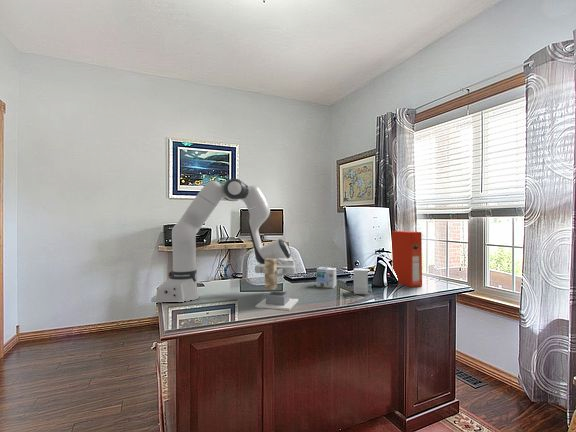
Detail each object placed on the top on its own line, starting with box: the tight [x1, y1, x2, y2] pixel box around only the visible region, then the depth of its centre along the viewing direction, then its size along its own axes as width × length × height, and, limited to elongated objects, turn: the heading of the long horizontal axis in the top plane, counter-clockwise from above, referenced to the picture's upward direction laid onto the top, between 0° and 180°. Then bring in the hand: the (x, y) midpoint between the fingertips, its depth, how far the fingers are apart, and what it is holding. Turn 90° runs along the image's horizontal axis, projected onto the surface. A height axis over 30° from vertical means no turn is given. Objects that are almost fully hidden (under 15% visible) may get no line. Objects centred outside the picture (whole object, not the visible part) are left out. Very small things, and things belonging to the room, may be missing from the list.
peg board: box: [255, 290, 299, 311], centre depth 144 cm, size 16×16×5 cm
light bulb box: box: [315, 266, 337, 289], centre depth 181 cm, size 11×7×11 cm, turn 68°
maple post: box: [264, 258, 278, 291], centre depth 144 cm, size 4×4×14 cm
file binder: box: [391, 230, 423, 288], centre depth 187 cm, size 8×17×32 cm, turn 17°
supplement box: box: [353, 267, 369, 295], centre depth 166 cm, size 7×7×13 cm
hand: (270, 271), depth 143 cm, fingers closed on maple post, 4 cm apart
